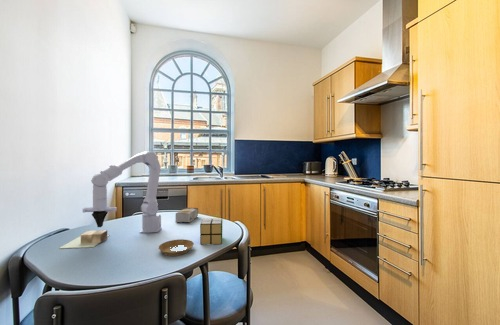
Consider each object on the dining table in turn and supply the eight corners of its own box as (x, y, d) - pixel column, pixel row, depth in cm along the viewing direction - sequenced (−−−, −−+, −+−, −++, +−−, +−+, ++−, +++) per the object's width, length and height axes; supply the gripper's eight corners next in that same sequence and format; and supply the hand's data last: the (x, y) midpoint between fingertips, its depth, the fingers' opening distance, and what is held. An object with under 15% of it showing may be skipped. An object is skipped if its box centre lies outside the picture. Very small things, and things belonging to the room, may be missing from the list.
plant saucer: (171, 261, 91) (171, 255, 91) (151, 252, 100) (151, 246, 100) (200, 249, 103) (200, 244, 103) (180, 242, 111) (180, 237, 111)
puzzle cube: (202, 237, 118) (202, 218, 117) (222, 237, 118) (222, 218, 118) (200, 245, 108) (200, 223, 107) (221, 244, 108) (221, 223, 108)
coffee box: (175, 212, 144) (185, 207, 160) (175, 222, 144) (185, 216, 160) (189, 213, 143) (198, 207, 159) (189, 223, 143) (198, 216, 159)
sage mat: (109, 235, 120) (109, 234, 120) (93, 247, 104) (93, 246, 104) (80, 236, 118) (80, 235, 118) (59, 248, 102) (59, 248, 102)
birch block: (107, 230, 115) (87, 230, 114) (101, 234, 109) (80, 234, 108) (107, 238, 115) (87, 238, 114) (101, 242, 109) (80, 243, 108)
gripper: (78, 200, 107) (78, 229, 107) (112, 200, 108) (112, 228, 109) (87, 197, 114) (87, 225, 114) (118, 197, 115) (118, 224, 116)
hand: (100, 226), depth 112 cm, fingers closed
